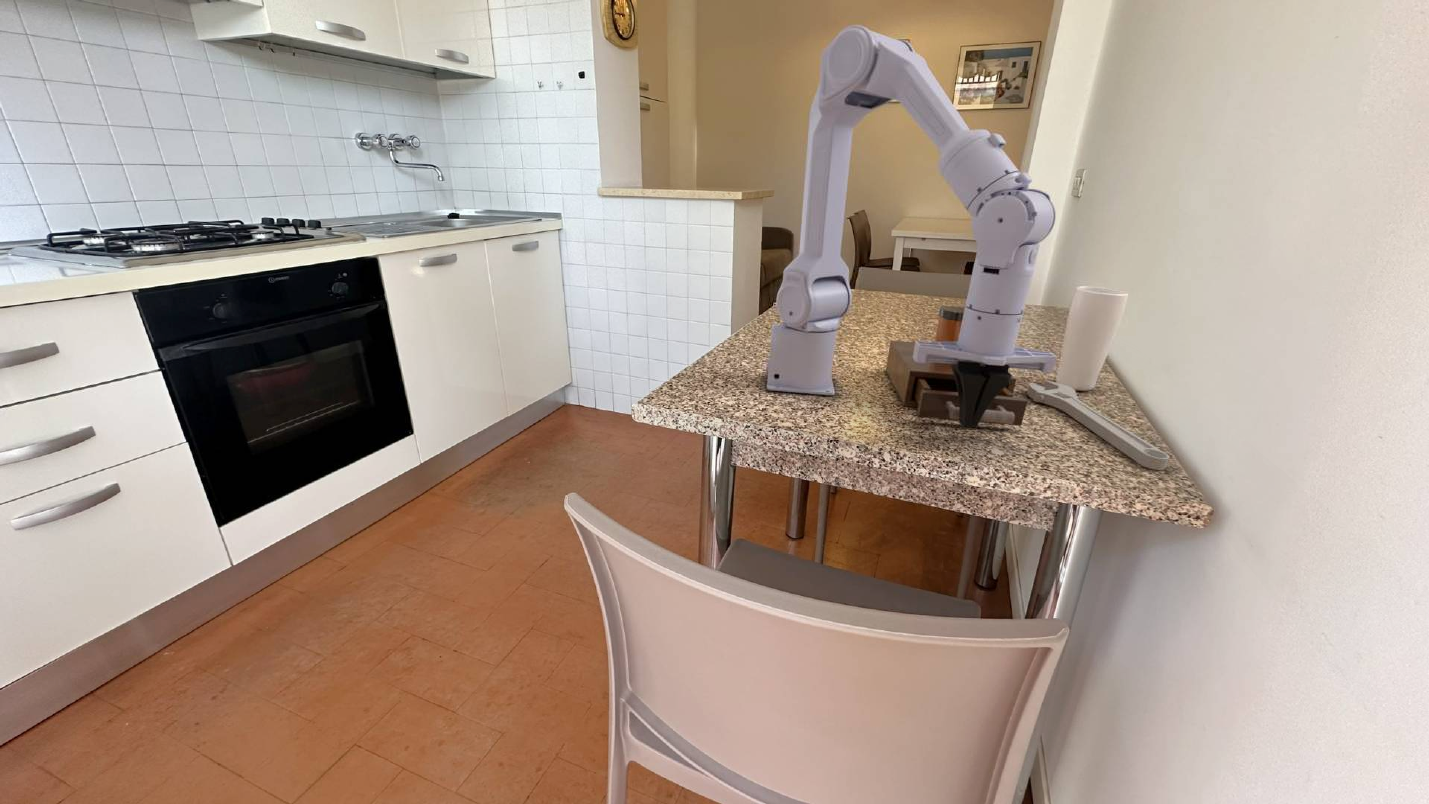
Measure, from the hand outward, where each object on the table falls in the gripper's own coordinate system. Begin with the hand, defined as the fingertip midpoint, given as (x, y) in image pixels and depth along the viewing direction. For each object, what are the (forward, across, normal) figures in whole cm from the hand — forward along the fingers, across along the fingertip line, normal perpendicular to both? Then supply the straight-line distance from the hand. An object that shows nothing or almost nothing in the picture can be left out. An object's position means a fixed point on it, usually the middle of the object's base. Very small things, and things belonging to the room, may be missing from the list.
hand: (967, 425), depth 66 cm
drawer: (+1, +2, +10) cm, 11 cm away
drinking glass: (+3, +24, +26) cm, 36 cm away
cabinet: (+2, +2, +19) cm, 19 cm away
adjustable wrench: (+3, +18, +10) cm, 21 cm away
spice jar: (-3, +2, +19) cm, 20 cm away
